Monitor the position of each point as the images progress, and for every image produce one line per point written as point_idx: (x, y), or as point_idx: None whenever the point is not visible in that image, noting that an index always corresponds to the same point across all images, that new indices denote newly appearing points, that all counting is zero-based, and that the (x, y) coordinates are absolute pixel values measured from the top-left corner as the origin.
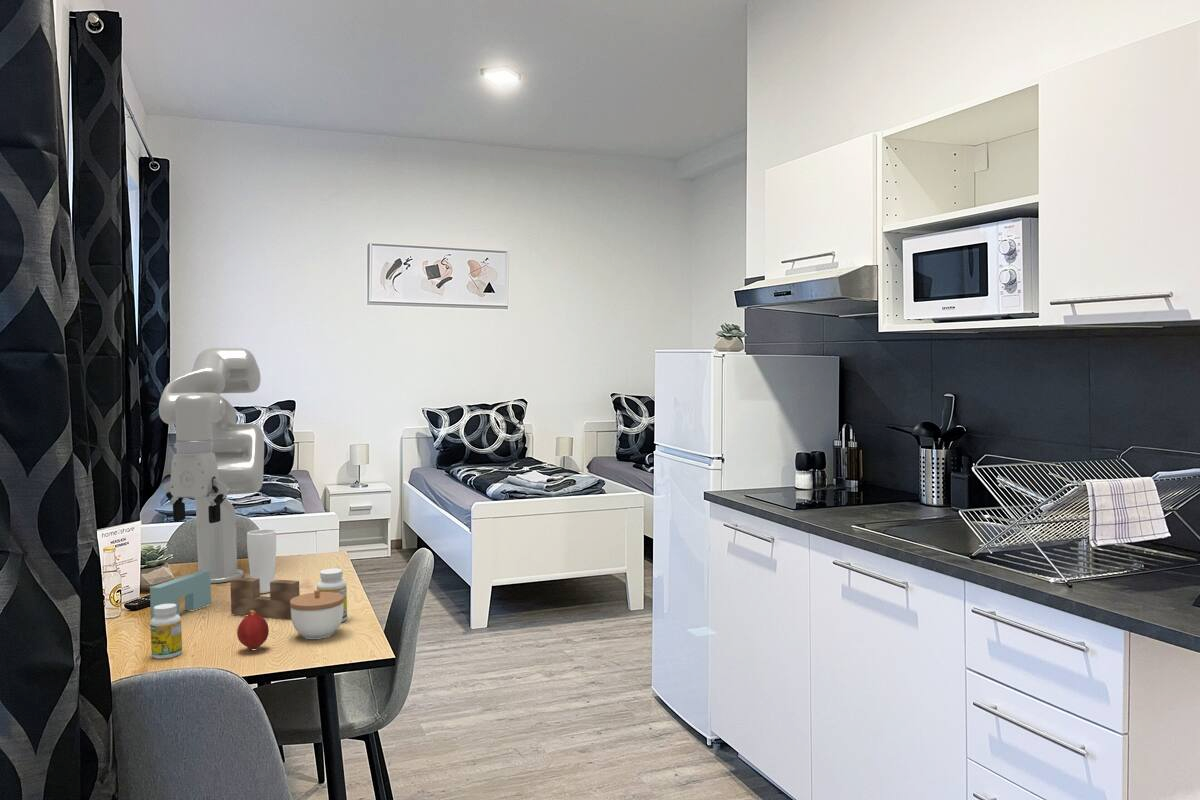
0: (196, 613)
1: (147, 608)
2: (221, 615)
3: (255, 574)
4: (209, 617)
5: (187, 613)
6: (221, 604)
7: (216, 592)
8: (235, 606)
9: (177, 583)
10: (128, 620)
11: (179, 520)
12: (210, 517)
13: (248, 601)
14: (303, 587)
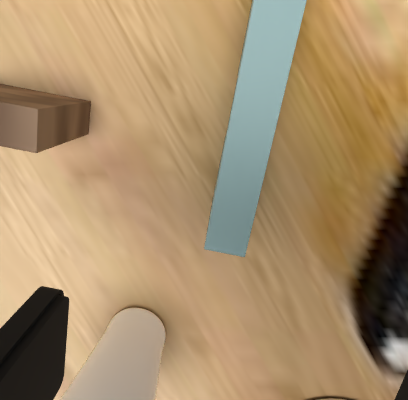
0: (206, 116)
1: (389, 164)
2: (118, 97)
3: (125, 339)
4: (142, 74)
5: None
6: (183, 209)
7: (263, 323)
8: (65, 100)
9: (240, 66)
10: (387, 26)
11: (398, 392)
12: (19, 311)
13: (6, 91)
14: None
